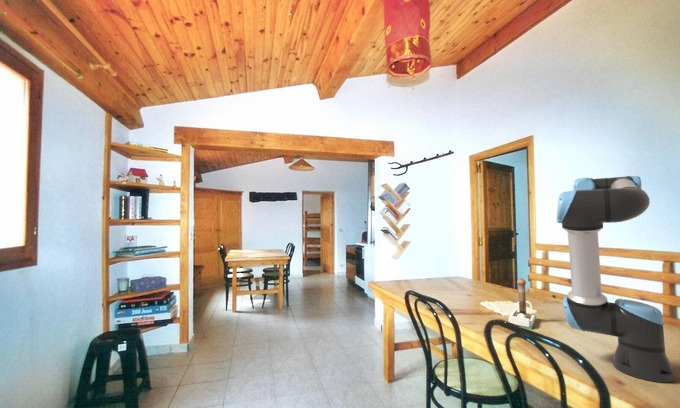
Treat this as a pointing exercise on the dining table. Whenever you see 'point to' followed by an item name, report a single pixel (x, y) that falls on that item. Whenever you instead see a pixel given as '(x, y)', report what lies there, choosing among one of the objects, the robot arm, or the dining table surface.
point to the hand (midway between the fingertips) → (587, 255)
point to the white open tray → (522, 320)
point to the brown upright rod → (522, 298)
